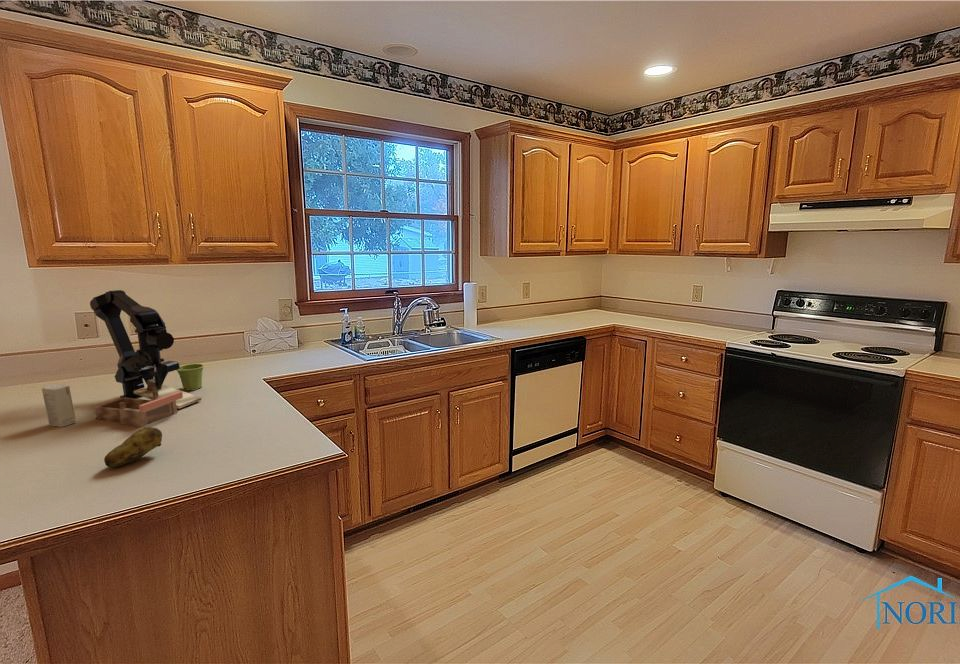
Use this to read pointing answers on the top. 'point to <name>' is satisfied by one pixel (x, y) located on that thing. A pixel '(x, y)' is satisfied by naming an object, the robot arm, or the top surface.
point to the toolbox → (134, 411)
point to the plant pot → (191, 376)
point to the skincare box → (59, 405)
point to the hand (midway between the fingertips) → (154, 388)
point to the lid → (166, 393)
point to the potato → (134, 447)
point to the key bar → (160, 401)
